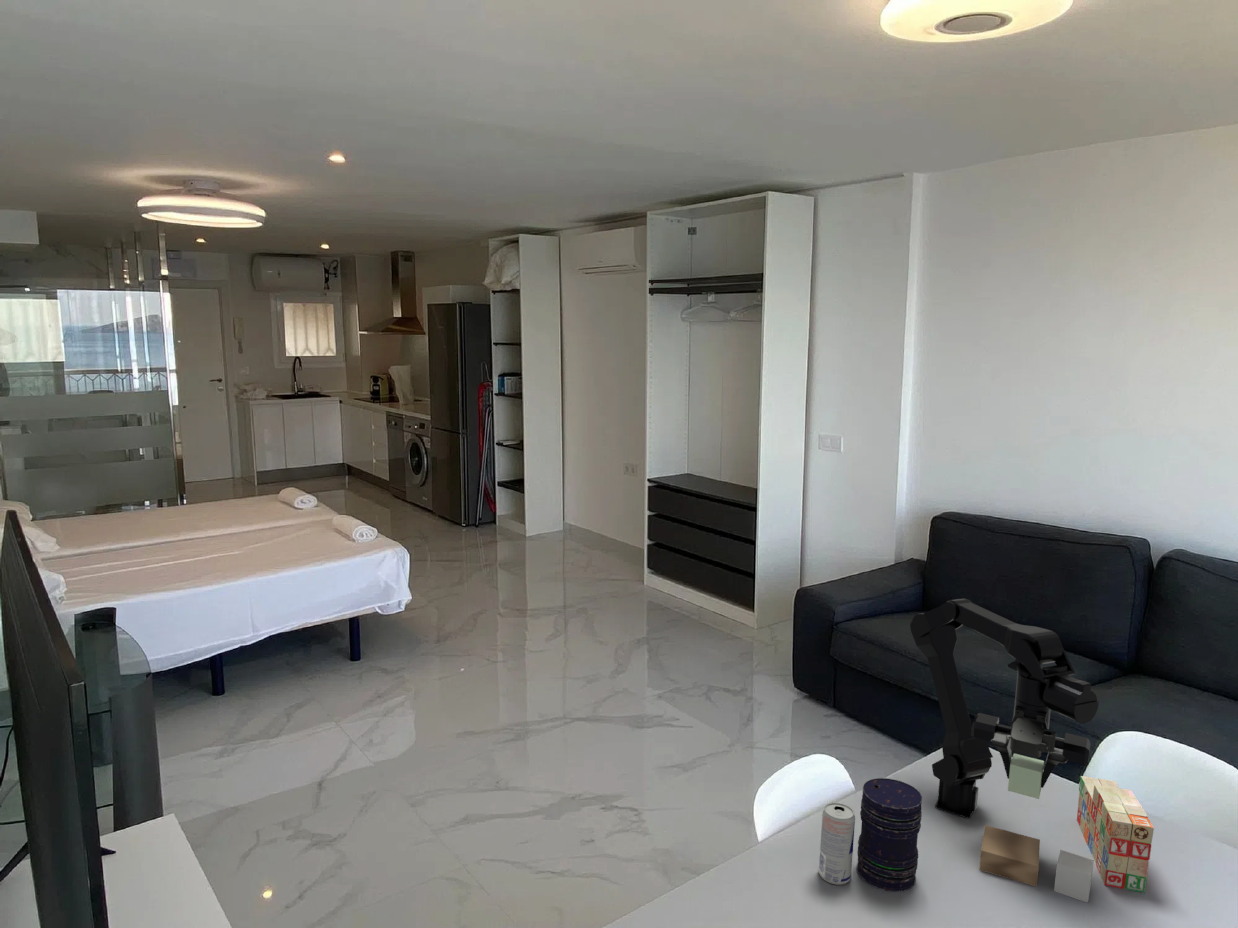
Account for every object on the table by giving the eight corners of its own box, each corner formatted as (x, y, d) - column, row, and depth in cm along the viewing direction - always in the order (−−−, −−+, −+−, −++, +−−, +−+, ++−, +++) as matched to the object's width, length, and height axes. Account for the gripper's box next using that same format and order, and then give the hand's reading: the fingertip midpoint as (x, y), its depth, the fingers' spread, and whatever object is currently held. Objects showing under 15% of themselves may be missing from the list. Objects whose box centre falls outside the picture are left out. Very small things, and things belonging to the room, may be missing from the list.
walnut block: (979, 871, 142) (981, 850, 142) (983, 844, 150) (985, 824, 150) (1036, 888, 138) (1038, 866, 138) (1037, 859, 146) (1039, 839, 145)
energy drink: (851, 870, 141) (856, 805, 139) (849, 888, 136) (854, 822, 134) (820, 863, 143) (824, 799, 141) (817, 881, 138) (821, 815, 136)
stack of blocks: (1075, 819, 159) (1081, 760, 157) (1111, 825, 157) (1118, 765, 156) (1104, 886, 139) (1112, 819, 137) (1146, 894, 137) (1154, 826, 135)
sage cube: (1007, 790, 146) (1010, 764, 145) (1011, 778, 150) (1013, 753, 150) (1038, 798, 143) (1041, 772, 143) (1041, 786, 148) (1044, 760, 147)
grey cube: (1053, 891, 137) (1056, 863, 136) (1057, 875, 141) (1060, 849, 140) (1087, 902, 134) (1091, 875, 134) (1090, 887, 138) (1093, 860, 138)
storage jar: (925, 873, 141) (932, 793, 139) (901, 900, 134) (908, 815, 132) (871, 848, 147) (877, 771, 145) (845, 873, 140) (851, 792, 138)
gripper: (969, 702, 143) (962, 785, 145) (1091, 730, 133) (1082, 819, 135) (979, 682, 152) (972, 760, 154) (1094, 706, 142) (1085, 790, 144)
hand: (1025, 782), depth 147 cm, fingers closed on sage cube, 5 cm apart
